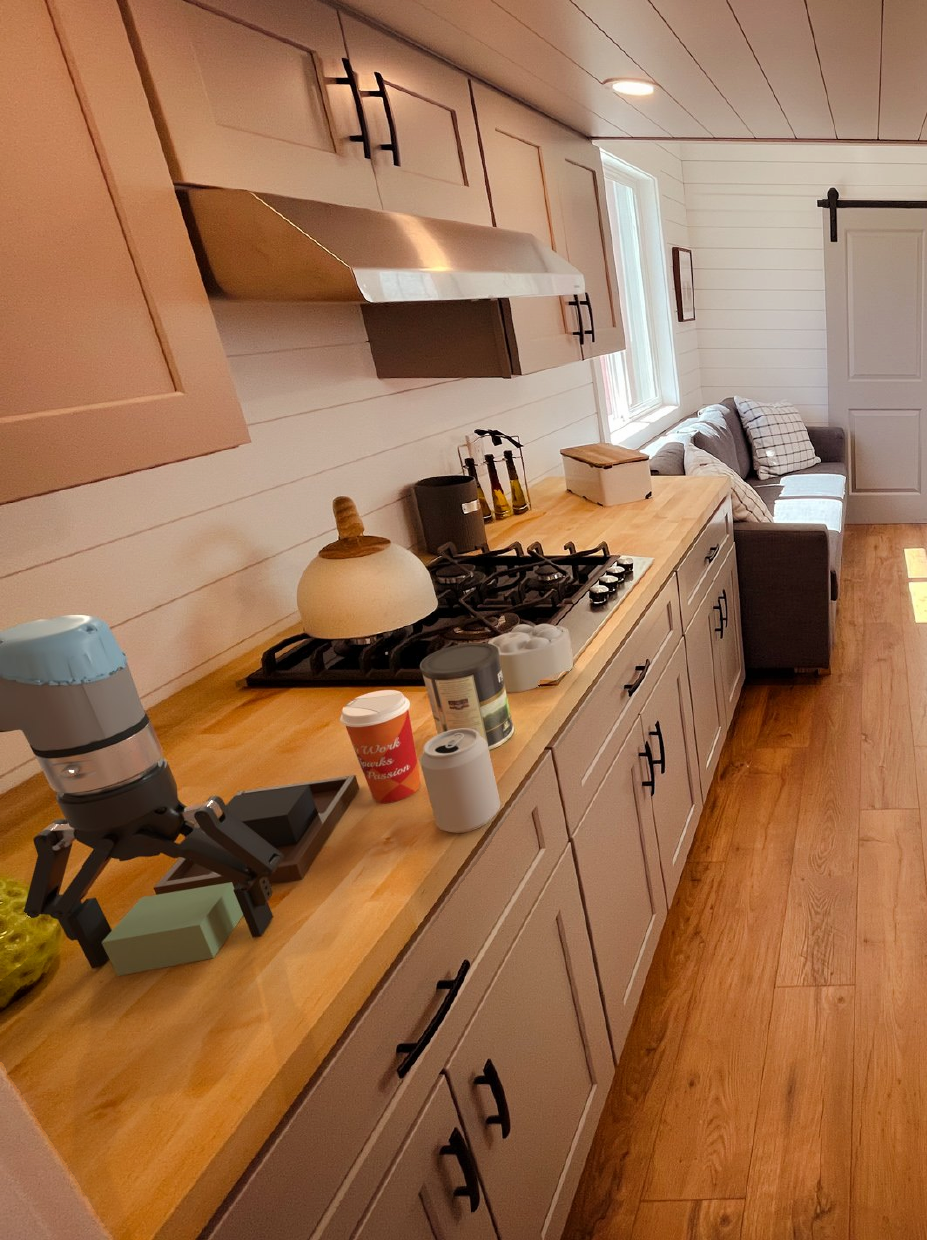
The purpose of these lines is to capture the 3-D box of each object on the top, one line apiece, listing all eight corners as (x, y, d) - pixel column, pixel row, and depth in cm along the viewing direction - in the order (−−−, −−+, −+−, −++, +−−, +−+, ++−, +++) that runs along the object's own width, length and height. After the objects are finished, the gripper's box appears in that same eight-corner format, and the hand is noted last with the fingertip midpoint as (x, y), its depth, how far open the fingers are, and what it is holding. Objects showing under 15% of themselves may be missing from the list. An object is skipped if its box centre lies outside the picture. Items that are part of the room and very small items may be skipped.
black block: (219, 857, 87) (207, 826, 85) (245, 824, 92) (234, 795, 91) (297, 844, 89) (286, 814, 87) (318, 813, 94) (309, 785, 93)
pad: (117, 976, 72) (100, 942, 71) (155, 929, 78) (141, 897, 76) (213, 958, 74) (199, 925, 73) (244, 913, 80) (232, 882, 78)
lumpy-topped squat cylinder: (489, 675, 131) (480, 632, 128) (561, 653, 140) (555, 612, 137) (509, 696, 124) (500, 651, 121) (584, 672, 133) (577, 629, 130)
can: (423, 834, 92) (401, 754, 88) (463, 796, 99) (445, 721, 95) (476, 840, 91) (457, 760, 87) (513, 802, 98) (497, 726, 94)
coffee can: (503, 712, 119) (487, 635, 114) (523, 739, 112) (507, 658, 107) (432, 736, 113) (412, 655, 108) (448, 765, 106) (428, 680, 101)
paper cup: (350, 808, 96) (323, 718, 92) (386, 773, 104) (362, 688, 99) (410, 807, 97) (386, 717, 92) (441, 772, 104) (420, 687, 99)
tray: (160, 903, 81) (153, 888, 80) (243, 805, 97) (237, 791, 96) (302, 879, 85) (296, 864, 84) (359, 788, 100) (355, 774, 100)
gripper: (-100, 824, 62) (5, 1002, 69) (246, 775, 69) (308, 943, 76) (-25, 772, 69) (64, 940, 76) (284, 732, 75) (338, 890, 83)
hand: (186, 942), depth 76 cm, fingers open, 13 cm apart
